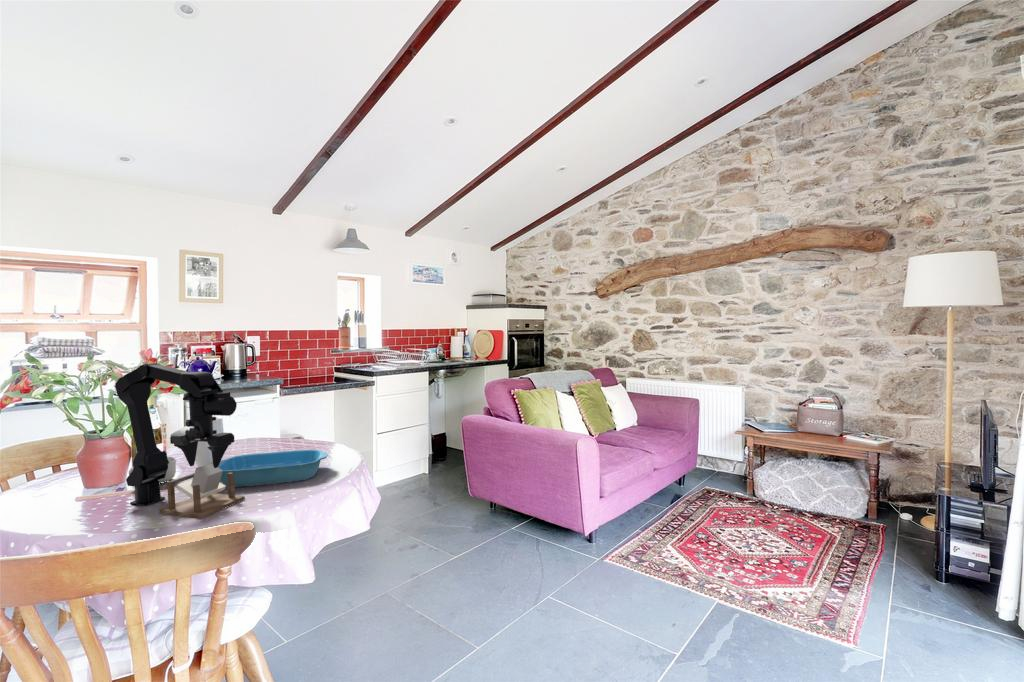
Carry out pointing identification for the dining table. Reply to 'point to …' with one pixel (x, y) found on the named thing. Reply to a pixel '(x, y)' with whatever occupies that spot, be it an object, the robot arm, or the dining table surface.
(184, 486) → the trapdoor
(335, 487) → the dining table surface
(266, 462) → the casserole dish
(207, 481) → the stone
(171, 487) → the trapdoor stand
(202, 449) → the cup
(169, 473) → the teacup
